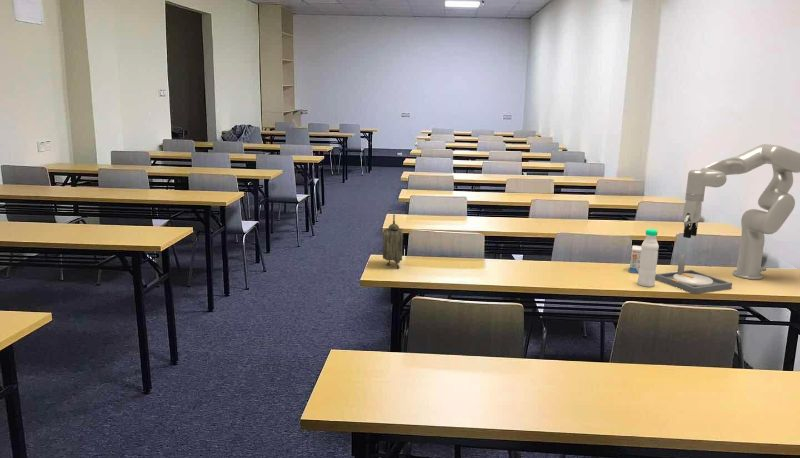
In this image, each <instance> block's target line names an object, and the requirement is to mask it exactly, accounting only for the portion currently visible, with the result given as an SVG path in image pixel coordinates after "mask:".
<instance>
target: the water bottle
mask: <svg viewBox="0 0 800 458" xmlns="http://www.w3.org/2000/svg"><path fill="white" fill-rule="evenodd" d="M645 236H646V237H645V238H644V240H643V242H642V244H641V245H640V246H641V247H642V249H641V255H640V268H639V273H638V276H637V284H638V285H639V286H641V287H645V288H650V287H651V288H652V287H655V284H656V280H655V276H656V274H657V265H658V259H659V247H660V245H659V242H658V240H657V236H658V230H657V229H653V228H647V229H645Z"/></svg>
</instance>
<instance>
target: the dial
mask: <svg viewBox="0 0 800 458" xmlns="http://www.w3.org/2000/svg"><path fill="white" fill-rule="evenodd" d="M686 257H687V255H686V254H684V253H681V254H680V253H679V257H678V265H677V266H678V267H677V271H678V272H677V274H675V275H673V279H674V280H677V281H680V282H681V283H684V284H687V285H690V286H697V287H700V286H708V285H712V284H713V280H712V279H711V278H709V277H706V276H702V275H698V274H690V273H684V271H685V266H686Z"/></svg>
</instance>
